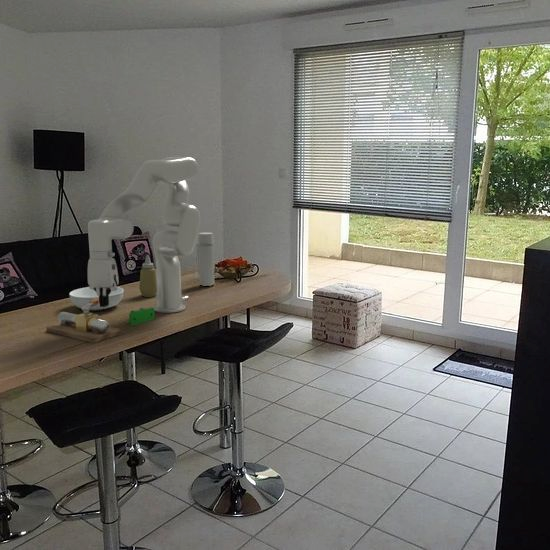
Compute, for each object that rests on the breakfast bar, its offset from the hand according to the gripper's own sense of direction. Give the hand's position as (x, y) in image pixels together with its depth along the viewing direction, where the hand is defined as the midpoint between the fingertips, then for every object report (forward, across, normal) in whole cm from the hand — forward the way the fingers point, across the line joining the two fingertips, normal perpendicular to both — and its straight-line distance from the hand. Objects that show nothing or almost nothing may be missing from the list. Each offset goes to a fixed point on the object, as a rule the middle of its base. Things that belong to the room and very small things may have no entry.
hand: (104, 305), depth 206 cm
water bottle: (+9, -5, -74) cm, 74 cm away
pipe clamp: (+8, -8, -10) cm, 15 cm away
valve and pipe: (+6, +3, +9) cm, 11 cm away
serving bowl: (+8, +19, -22) cm, 30 cm away
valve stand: (+8, +3, +9) cm, 12 cm away
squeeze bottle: (+8, +9, -47) cm, 48 cm away
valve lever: (+1, +2, +4) cm, 5 cm away
